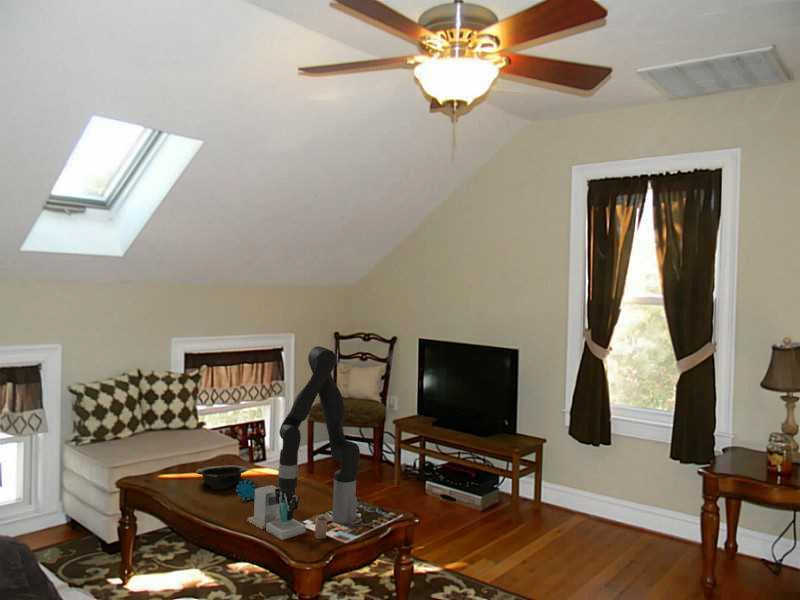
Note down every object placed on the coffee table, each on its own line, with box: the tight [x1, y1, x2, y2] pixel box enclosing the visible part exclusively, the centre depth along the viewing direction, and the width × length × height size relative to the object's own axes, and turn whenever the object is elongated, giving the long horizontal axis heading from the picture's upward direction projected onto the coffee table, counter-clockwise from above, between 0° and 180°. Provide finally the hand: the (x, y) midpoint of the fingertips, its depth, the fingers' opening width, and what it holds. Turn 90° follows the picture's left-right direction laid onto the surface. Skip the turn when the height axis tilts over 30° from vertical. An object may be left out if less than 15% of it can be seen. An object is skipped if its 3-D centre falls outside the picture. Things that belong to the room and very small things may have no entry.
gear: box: [235, 479, 256, 501], centre depth 297 cm, size 11×6×10 cm
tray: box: [265, 518, 307, 541], centre depth 260 cm, size 11×11×3 cm
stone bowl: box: [195, 464, 250, 491], centre depth 314 cm, size 25×25×9 cm
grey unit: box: [247, 484, 280, 530], centre depth 269 cm, size 12×11×14 cm
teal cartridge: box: [280, 500, 291, 522], centre depth 259 cm, size 4×4×8 cm
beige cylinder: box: [314, 515, 328, 540], centre depth 256 cm, size 4×4×8 cm
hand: (286, 517), depth 259 cm, fingers closed on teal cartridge, 4 cm apart
